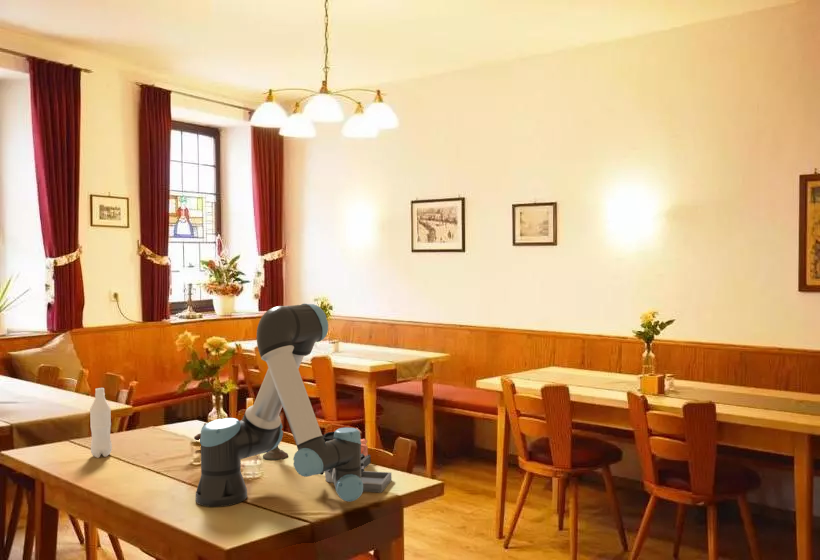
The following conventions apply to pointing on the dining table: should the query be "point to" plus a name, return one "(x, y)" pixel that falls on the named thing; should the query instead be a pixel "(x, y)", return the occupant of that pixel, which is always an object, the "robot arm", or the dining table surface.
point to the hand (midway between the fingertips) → (336, 454)
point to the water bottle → (100, 425)
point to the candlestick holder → (275, 454)
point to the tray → (375, 481)
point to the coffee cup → (326, 437)
